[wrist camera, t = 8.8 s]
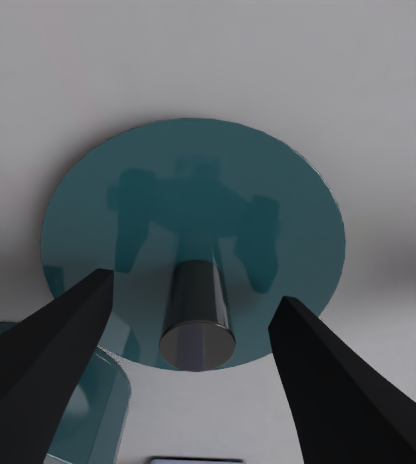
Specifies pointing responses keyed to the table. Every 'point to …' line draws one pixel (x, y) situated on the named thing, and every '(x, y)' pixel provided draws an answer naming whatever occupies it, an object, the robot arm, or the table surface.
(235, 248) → the pot lid
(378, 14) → the table surface
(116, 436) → the pot
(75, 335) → the robot arm
